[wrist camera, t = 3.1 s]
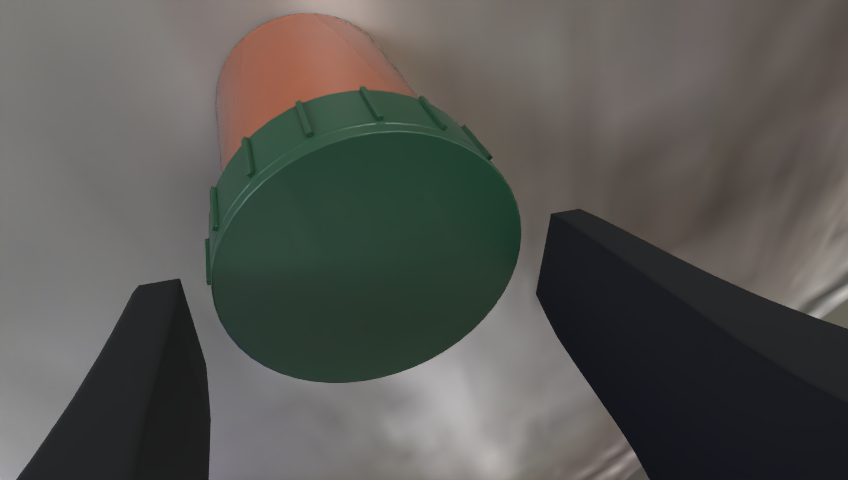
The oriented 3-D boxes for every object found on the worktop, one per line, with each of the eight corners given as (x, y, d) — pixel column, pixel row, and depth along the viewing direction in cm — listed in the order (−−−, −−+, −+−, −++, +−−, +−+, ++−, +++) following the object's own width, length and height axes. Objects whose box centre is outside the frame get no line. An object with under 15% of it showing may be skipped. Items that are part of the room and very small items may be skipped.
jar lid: (537, 173, 13) (579, 217, 11) (384, 350, 15) (404, 407, 13) (314, 20, 9) (335, 56, 8) (152, 277, 11) (146, 343, 10)
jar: (429, 78, 17) (547, 212, 12) (334, 206, 19) (397, 381, 13) (278, -30, 14) (336, 79, 9) (181, 134, 16) (176, 319, 10)
